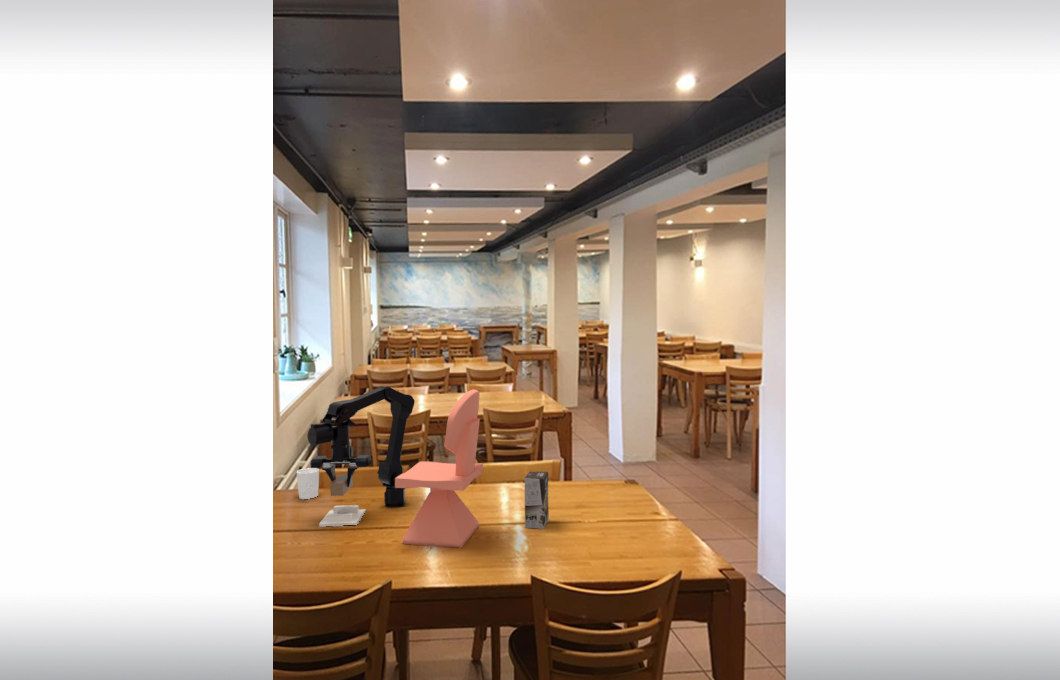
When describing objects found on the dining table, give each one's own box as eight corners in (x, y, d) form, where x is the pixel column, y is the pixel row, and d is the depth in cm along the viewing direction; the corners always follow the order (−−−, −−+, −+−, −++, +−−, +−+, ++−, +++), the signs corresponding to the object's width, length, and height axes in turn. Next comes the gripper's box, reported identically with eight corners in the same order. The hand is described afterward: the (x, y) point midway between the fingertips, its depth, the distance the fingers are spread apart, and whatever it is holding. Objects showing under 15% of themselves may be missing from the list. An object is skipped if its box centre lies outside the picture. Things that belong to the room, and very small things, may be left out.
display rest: (365, 512, 226) (365, 503, 226) (356, 525, 212) (356, 516, 212) (330, 513, 226) (330, 504, 226) (319, 526, 212) (318, 517, 212)
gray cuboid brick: (341, 485, 225) (340, 473, 224) (352, 485, 225) (352, 473, 224) (330, 495, 213) (330, 483, 212) (343, 495, 213) (342, 483, 212)
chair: (425, 519, 218) (422, 383, 216) (491, 522, 214) (488, 384, 211) (392, 549, 192) (388, 395, 189) (466, 554, 187) (463, 396, 185)
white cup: (315, 500, 241) (314, 473, 241) (294, 500, 241) (293, 473, 241) (322, 493, 249) (321, 467, 248) (302, 494, 249) (301, 467, 249)
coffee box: (544, 529, 207) (543, 478, 206) (524, 528, 208) (523, 477, 207) (549, 519, 216) (548, 471, 215) (530, 518, 217) (529, 470, 216)
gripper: (373, 434, 226) (375, 479, 227) (318, 436, 225) (320, 481, 226) (367, 441, 215) (368, 488, 216) (309, 443, 214) (310, 490, 215)
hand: (342, 487), depth 219 cm, fingers closed on gray cuboid brick, 4 cm apart
